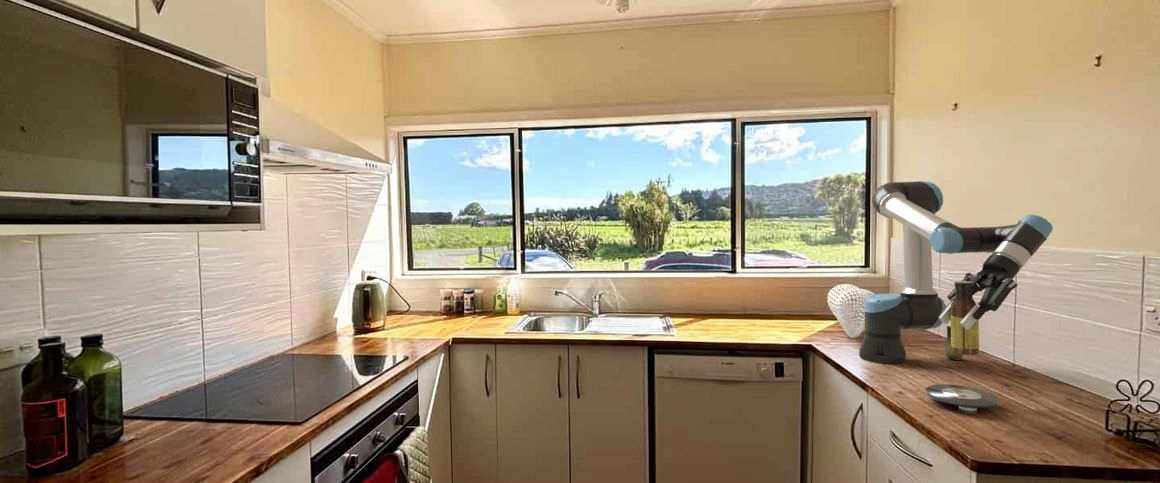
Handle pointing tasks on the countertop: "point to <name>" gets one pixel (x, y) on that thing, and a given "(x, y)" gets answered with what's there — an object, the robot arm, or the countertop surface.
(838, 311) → the heart
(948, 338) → the fennel bulb
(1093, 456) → the countertop surface
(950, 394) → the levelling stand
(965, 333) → the sauce bottle
